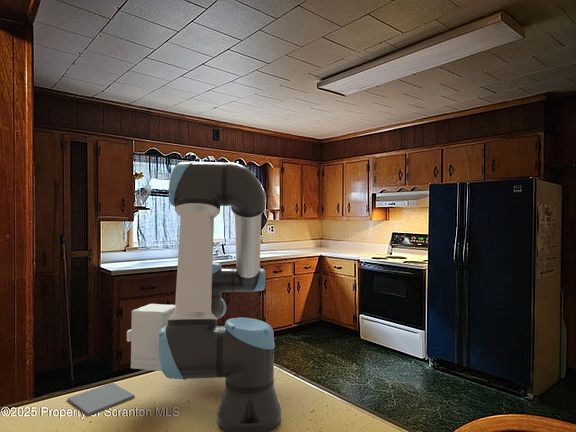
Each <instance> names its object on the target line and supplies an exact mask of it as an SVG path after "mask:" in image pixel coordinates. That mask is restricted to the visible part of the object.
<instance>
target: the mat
mask: <svg viewBox="0 0 576 432" xmlns="http://www.w3.org/2000/svg"><path fill="white" fill-rule="evenodd" d="M135 396H136V395H135V394H134V393H131V391H130V392H129V391H128V390H126V389H125V388H123V387H121V386H119V385H118V384H116V383H113V382H110V383H108V384H105V385H101V386H98V387H96V388H93V389H90V390H86V391H84V392H81V393H78V394H76V395H72V396H69V397H67V401H68V402H69V403H70V404H72V405H73V406H75V407H76V408H77V409H79V410H80V411H81V412H83V413H84V414H86V415H87V416H91V415H93V414H96V413H98V412H101V411H103V410H106V409H109V408H112V407H114V406H116V405H118V404H121V403H124V402H126V401H129V400H132V399H135Z"/></svg>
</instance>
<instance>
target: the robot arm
mask: <svg viewBox="0 0 576 432" xmlns="http://www.w3.org/2000/svg"><path fill="white" fill-rule="evenodd" d="M168 183H169V185H168V201H169V204H170V205H171V206H173V207H174V211H175V213H176V214H177V215H178V216H179V217H180V218H179V231H178V232H179V233H178V235H179V236H178V237H179V238H178V250H177V252H178V253H177V266H176V267H177V272H176V284H175V285H176V286H175V287H176V288H175V304H174V305H175V312H174V313H173V314H172V315H171V316H170V317H169V318H168V325H167V326H165V327H163V328H161V330H160V333H159V340H158V351H159V361H160V366H161V369H162V371H161V372H162V374H163V375H164V377H166V378H167V379H172V380H177V379H178V380H179V379H180V380H184V381H185V380H187V379H190V380H191V379H213V378H214V379H215V378H220V379H221V378H225V379H224V380H225V382H224V383H225V384H224V385H225V386H224V390H223V393H222V396H221V399H220V404H219V406H218V408H217V424H218V426H219V427H220V429H222V430H223V431H225V432H270V431H272V430H274V429H276V427H277V426H278V425H279V424H280V422H281V420H282V407H281V404H280V402H279V401H278V395H277V392H276V388H275V375H274V374H275V367H274V366H275V365H274V364H275V362H274V361H275V357H274V356H275V355H274V353H275V351H274V350H275V348H276V347H275V346H276V344H275V336H274V333H275V332H274V329H273V327H272V325H270V324H269V323H267V322H265V321H263V320H260V319H257V318H251V317H250V318H249V317H236V318H235V317H232V318H229V319H227V320H226V321H225V323H224V325H218V320H219V319H221V318H222V317H223V316H224V315H225V313H226V312H227V304H226V302H225V300H224V299H223V298H222V293H223V292H224V293H225V292H226V293H228V292H229V293H231V292H238V293H239V292H240V293H241V292H243V293H244V292H245V293H246V292H250V293H251V292H252V293H254V292H260V291H262V292H263V291H264V290H265V287H266V270H265V269H264V268H261V266H260V265H261V235H262V214H263V213H264V212H265V209H266V196H265V192H264V189H263V186H262V184H261V183H260V181H259V180H258V178H257V177H256V175H255V174H254V173H253V172H252V171H251V170H250V169H249V168H248V167H246V166H244V165H242V164H239V163H237V162H232V161H231V162H217V161H215V162H213V161H212V162H211V161H194V160H192V161H182V162H178V163H176V164H175V166H174V167H173V169H172V171H171V175H170V178H169V182H168ZM228 206H229V207H230V209H231V212H232V213H233V214H234V225H235V227H234V232H235V261H236V262H235V264H236V265H235V266H236V268H223V267H222V264H221V263H220V262H214V261H213V260H214V258H213V257H214V232H215V229H214V227H215V218H217V216H218V215H220V214H221V207H228ZM126 342H131V329H128V330H127V331H126Z"/></svg>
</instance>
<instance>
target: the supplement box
mask: <svg viewBox="0 0 576 432" xmlns="http://www.w3.org/2000/svg"><path fill="white" fill-rule="evenodd" d="M174 312H175V304H164V303H163V304H161V303H160V304H159V303H149V304H146V305H144V306H141V307H139V308H135V309H133V310H131V329H130V330H131V341H130V342H131V343H130V369H135V370H136V369H138V370H144V371H145V370H147V371H159V372H162V369H161V366H160V361H159V351H158V340H159V333H160V330H161V328H163V327H165V326H167V325H168V318H169V317H170V316H171V315H172V314H173V313H174Z"/></svg>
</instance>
